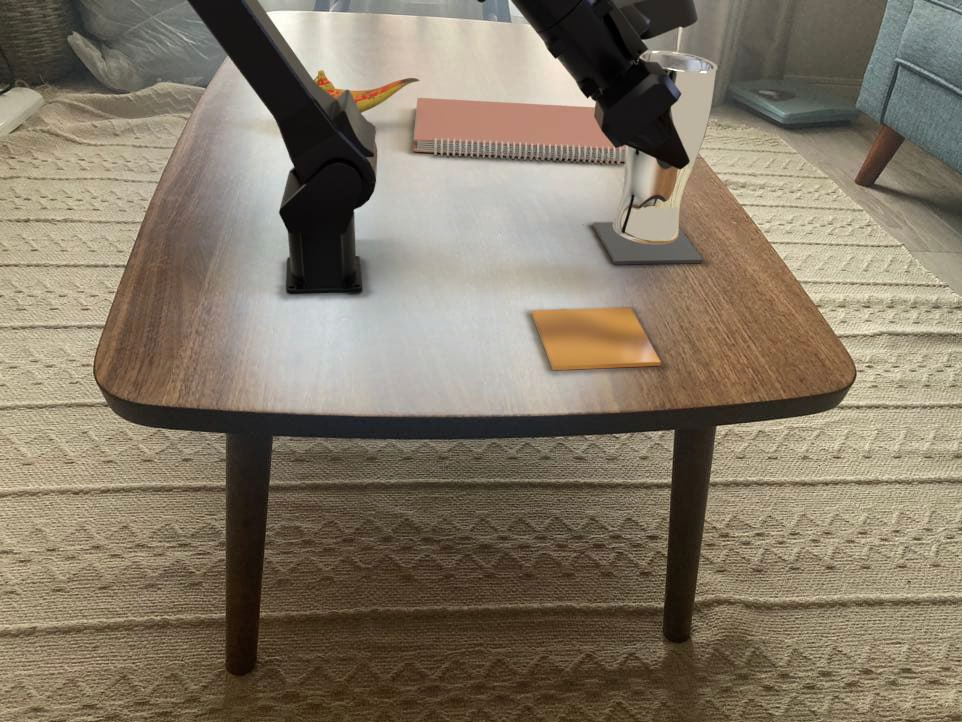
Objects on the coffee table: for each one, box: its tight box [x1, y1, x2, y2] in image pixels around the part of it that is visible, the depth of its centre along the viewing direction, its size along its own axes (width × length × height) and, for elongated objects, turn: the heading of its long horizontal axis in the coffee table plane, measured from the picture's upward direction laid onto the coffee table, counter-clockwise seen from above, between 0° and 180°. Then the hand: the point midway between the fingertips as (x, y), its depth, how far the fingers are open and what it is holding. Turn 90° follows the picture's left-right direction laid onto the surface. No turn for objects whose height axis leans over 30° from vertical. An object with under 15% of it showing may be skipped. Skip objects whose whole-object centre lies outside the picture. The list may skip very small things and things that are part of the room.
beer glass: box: [612, 49, 718, 245], centre depth 80 cm, size 7×7×15 cm
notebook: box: [412, 97, 625, 165], centre depth 117 cm, size 27×17×2 cm, turn 94°
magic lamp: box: [313, 69, 421, 114], centre depth 111 cm, size 7×18×11 cm, turn 100°
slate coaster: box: [592, 221, 703, 266], centre depth 95 cm, size 9×9×1 cm
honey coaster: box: [531, 306, 662, 371], centre depth 78 cm, size 9×9×1 cm
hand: (675, 150), depth 80 cm, fingers closed on beer glass, 7 cm apart
